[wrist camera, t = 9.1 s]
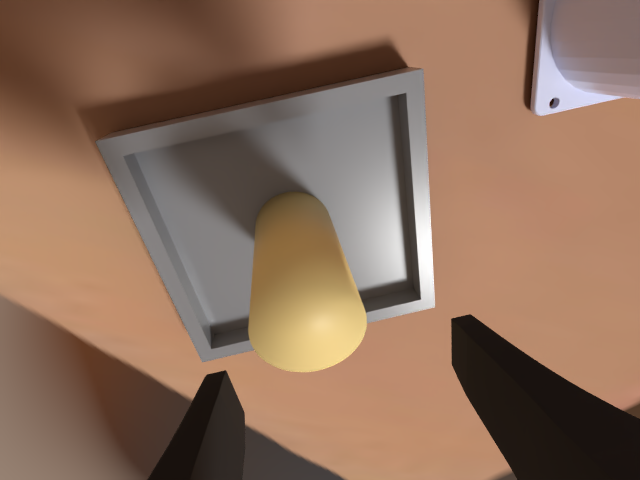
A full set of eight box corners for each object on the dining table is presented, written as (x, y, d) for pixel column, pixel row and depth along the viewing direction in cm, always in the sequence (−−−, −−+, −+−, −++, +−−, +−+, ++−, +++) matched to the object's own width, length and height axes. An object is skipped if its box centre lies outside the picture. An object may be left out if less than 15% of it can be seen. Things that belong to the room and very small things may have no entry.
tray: (408, 67, 17) (423, 68, 15) (423, 289, 23) (434, 307, 22) (111, 132, 17) (95, 141, 15) (206, 340, 23) (202, 362, 21)
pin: (323, 183, 18) (358, 266, 11) (336, 250, 20) (373, 357, 13) (246, 201, 18) (232, 295, 11) (266, 267, 20) (265, 382, 13)
